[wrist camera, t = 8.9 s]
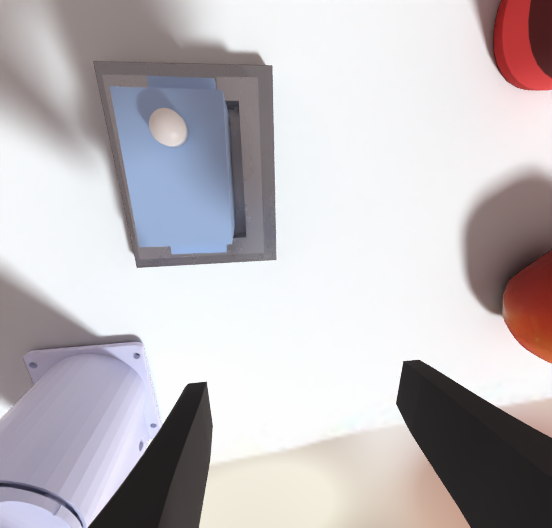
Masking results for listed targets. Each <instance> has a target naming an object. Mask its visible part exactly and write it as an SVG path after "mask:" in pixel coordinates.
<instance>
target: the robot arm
mask: <svg viewBox="0 0 552 528" xmlns="http://www.w3.org/2000/svg"><path fill="white" fill-rule="evenodd" d="M135 353H138V354H140V355H136V354H135ZM23 359H24V362H25V364H26V367H27V369H28V372H29V374H30V376H31V379H32V381H33V383H34V385H33V386H32V387H31V389H30V390H29V391H28V392H27V393H26V394H25V395H24V396H23V397H22V398H21V399H20V400H19V401H18V402H17V403H16V404H15V405H14V406H13V407H12V408H11V409H10V410H9V411H8V412H7V413H6V414H5V415H4V416H3V417H2V418H1V419H0V528H199V523H200V517H201V511H202V505H203V499H204V493H205V487H206V481H207V475H208V470H209V463H210V455H211V442H212V428H213V425H212V417H211V410H210V403H209V396H208V388H207V382H200V383H190V384H188V385H187V386H186V387H185V388H184V390H183V392H182V394H181V396H180V397H179V399H178V401H177V402H176V404H175V406H174V407H173V409H172V411H171V412H170V414H169V416H168V417H167V419H166V420H165V422H164V424H163V425H162V424H161V420H160V415H159V411H158V406H157V402H156V397H155V393H154V389H153V384H152V380H151V375H150V371H149V366H148V362H147V358H146V353H145V349H144V346H143V344H142V343H140V342H126V343H114V344H103V345H91V346H79V347H67V348H56V349H44V350H32V351H29V352H28V353H27V354H25V355H24V357H23ZM35 363H36V364H35ZM396 404H397V406H398V408H399V411H400V413H401V415H402V417H403V419H404V421H405V423H406V425H407V427H408V428H409V430H410V432H411V434H412V436H413V437H414V439H415V440H416V442H417V444H418V445H419V447H420V448H421V450H422V451H423V453H424V455H425V456H426V458H427V459H428V461H429V462H430V464H431V465H432V467H433V469H434V470H435V472H436V473H437V475H438V476H439V478H440V479H441V481H442V482H443V484H444V486H445V487H446V489H447V490H448V492H449V493H450V495H451V496H452V498H453V499H454V501H455V503H456V504H457V505H458V507H459V509H460V510H461V512H462V514H463V515H464V517H465V519H466V520H467V522H468V524H469V525H470V527H471V528H552V438H551V437H549V436H547V435H545V434H543V433H541V432H539V431H538V430H536V429H534V428H532V427H530V426H529V425H527V424H525V423H523V422H522V421H520V420H518V419H516V418H515V417H513V416H511V415H509V414H508V413H506V412H504V411H502V410H501V409H499V408H497V407H496V406H494V405H492V404H491V403H489V402H487V401H486V400H484V399H482V398H481V397H479V396H477V395H476V394H474V393H473V392H471V391H469V390H468V389H466V388H464V387H463V386H461V385H460V384H458V383H456V382H455V381H453V380H452V379H450V378H448V377H447V376H445V375H444V374H442V373H440V372H439V371H437V370H436V369H434V368H432V367H431V366H429V365H427V364H426V363H424V362H422V361H420V360H412V361H403V367H402V373H401V378H400V384H399V390H398V395H397V401H396ZM154 423H155V424H154ZM149 439H153V440H152V442H151V443H150V445H149V446H148V448H147V449H146V447H147V444H148V441H149ZM145 449H146V451H145Z"/></svg>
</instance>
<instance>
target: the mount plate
mask: <svg viewBox="0 0 552 528" xmlns="http://www.w3.org/2000/svg"><path fill="white" fill-rule="evenodd" d="M93 62H94V67H95V72H96V76H97V81H98V86H99V91H100V95H101V100H102V105H103V109H104V114H105V119H106V124H107V128H108V133H109V138H110V143H111V147H112V152H113V157H114V161H115V166H116V171H117V176H118V180H119V185H120V190H121V195H122V199H123V204H124V209H125V214H126V218H127V223H128V228H129V232H130V237H131V242H132V247H133V251H134V256H135V261H136V266H137V268H142V267H159V266H177V265H195V264H212V263H230V262H247V261H265V260H276V222H275V173H274V124H273V75H272V65H230V64H187V63H145V62H102V61H93ZM147 76H171V77H197V78H215V82H216V90H223V93H224V98H225V102H226V106H227V110H228V114H229V120H230V138H231V157H232V175H233V193H234V212H235V229H234V235H233V241H232V244H228V245H227V252H220V253H192V254H172V253H171V246H166V247H139V244H138V239H137V233H136V228H135V222H134V217H133V211H132V206H131V200H130V195H129V189H128V184H127V178H126V173H125V168H124V162H123V157H122V151H121V146H120V140H119V135H118V129H117V124H116V118H115V113H114V108H113V102H112V97H111V91H110V86H118V87H148V83H147Z"/></svg>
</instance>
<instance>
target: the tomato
mask: <svg viewBox="0 0 552 528" xmlns="http://www.w3.org/2000/svg"><path fill="white" fill-rule="evenodd" d="M502 314H503V318H504V321H505V323H506V325H507V327H508V328H509V330H510V332H511V333H512V335H513V336H514V338H515V339H516V340H517V341H518V342H519V343H520V344H521V345H522V346H523V347H524V348H525V349H527V350H528V351H530V352H531V353H533V354H534V355H536V356H538V357H539V358H541V359H543V360H545V361H547V362H550V363H552V250H551V251H549V252H548V253H546V254H545V255H543V256H542V257H540V258H539V259H537V260H536V261H534V262H533V263H532V264H530V265H529V266H527V267H526V268H524V269H523V270H521V271H520V272H519V273H518V274H516V275H515V276H514V277H512V278H511V279H510V280H509V282H508V283H507V286H506V289H505V291H504V293H503V310H502Z"/></svg>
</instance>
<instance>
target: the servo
mask: <svg viewBox="0 0 552 528" xmlns="http://www.w3.org/2000/svg"><path fill="white" fill-rule="evenodd" d="M147 83H148V87H118V86H110V91H111V97H112V102H113V108H114V113H115V118H116V124H117V129H118V135H119V140H120V146H121V151H122V157H123V162H124V168H125V173H126V178H127V184H128V189H129V195H130V200H131V206H132V211H133V217H134V222H135V228H136V233H137V239H138V244H139V247H166V246H171V253H172V254H192V253H220V252H227V245H228V244H232V241H233V235H234V229H235V212H234V193H233V175H232V157H231V138H230V120H229V114H228V110H227V106H226V102H225V98H224V93H223V90H216V82H215V78H197V77H171V76H147Z"/></svg>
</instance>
